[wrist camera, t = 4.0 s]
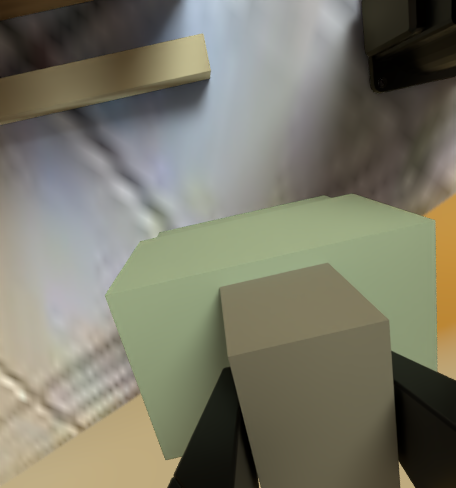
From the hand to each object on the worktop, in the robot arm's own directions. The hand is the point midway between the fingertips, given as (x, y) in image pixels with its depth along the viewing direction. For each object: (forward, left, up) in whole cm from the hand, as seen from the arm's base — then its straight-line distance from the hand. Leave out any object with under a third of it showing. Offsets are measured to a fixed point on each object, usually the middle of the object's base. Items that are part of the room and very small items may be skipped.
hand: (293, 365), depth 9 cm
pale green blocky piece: (0, 0, -8) cm, 8 cm away
